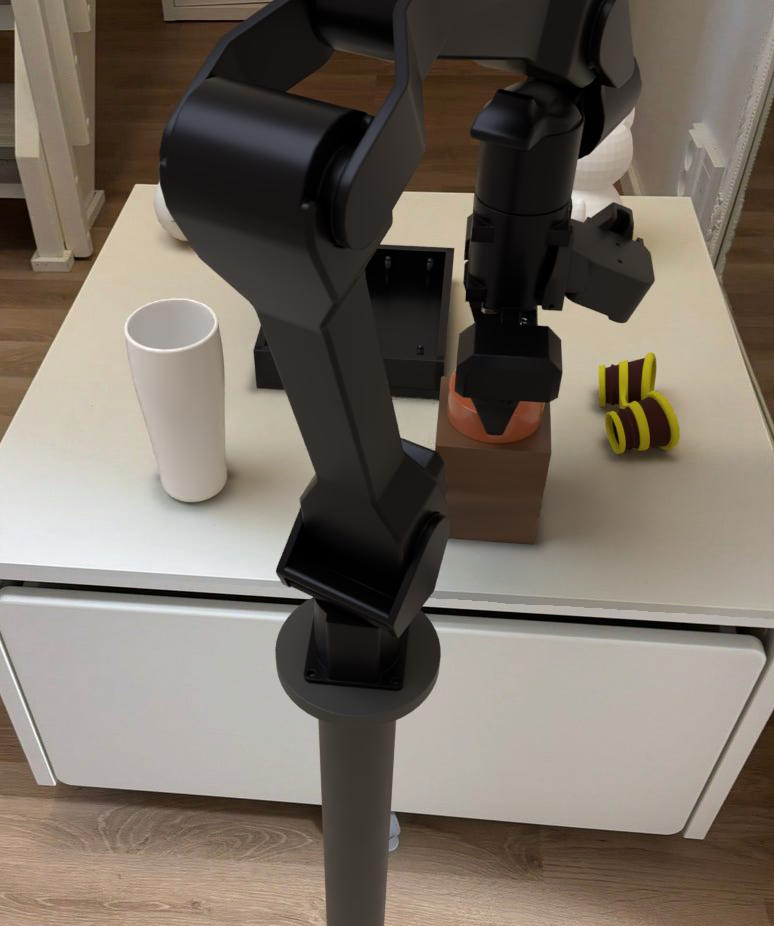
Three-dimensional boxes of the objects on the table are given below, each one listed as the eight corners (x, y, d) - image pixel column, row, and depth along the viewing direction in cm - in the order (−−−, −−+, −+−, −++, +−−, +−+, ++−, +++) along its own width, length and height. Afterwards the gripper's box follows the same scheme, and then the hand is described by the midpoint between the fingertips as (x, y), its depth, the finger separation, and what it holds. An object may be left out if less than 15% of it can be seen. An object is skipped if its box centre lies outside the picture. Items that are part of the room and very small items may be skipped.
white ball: (155, 256, 106) (144, 188, 101) (162, 220, 111) (152, 153, 105) (251, 254, 106) (246, 186, 100) (254, 217, 111) (249, 151, 105)
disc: (542, 447, 71) (547, 419, 69) (444, 440, 72) (446, 413, 70) (541, 387, 75) (546, 360, 74) (448, 381, 76) (451, 354, 74)
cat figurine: (616, 231, 107) (647, 83, 96) (616, 297, 99) (650, 143, 88) (529, 224, 109) (550, 78, 97) (522, 288, 100) (544, 136, 89)
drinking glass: (157, 456, 85) (128, 297, 74) (238, 454, 85) (222, 295, 74) (148, 513, 80) (116, 353, 69) (234, 511, 80) (216, 350, 69)
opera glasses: (593, 397, 90) (591, 350, 86) (655, 387, 89) (656, 339, 86) (612, 470, 84) (611, 423, 80) (679, 460, 83) (682, 412, 79)
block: (534, 544, 77) (551, 453, 70) (427, 536, 78) (435, 445, 71) (533, 473, 82) (549, 382, 76) (433, 466, 83) (441, 375, 77)
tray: (441, 399, 89) (445, 361, 86) (256, 388, 91) (253, 350, 88) (451, 284, 101) (454, 247, 98) (287, 276, 103) (285, 239, 100)
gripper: (677, 284, 54) (619, 500, 66) (648, 128, 66) (604, 333, 78) (465, 273, 55) (445, 487, 67) (475, 122, 68) (457, 324, 79)
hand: (495, 402), depth 73 cm, fingers closed on disc, 7 cm apart
